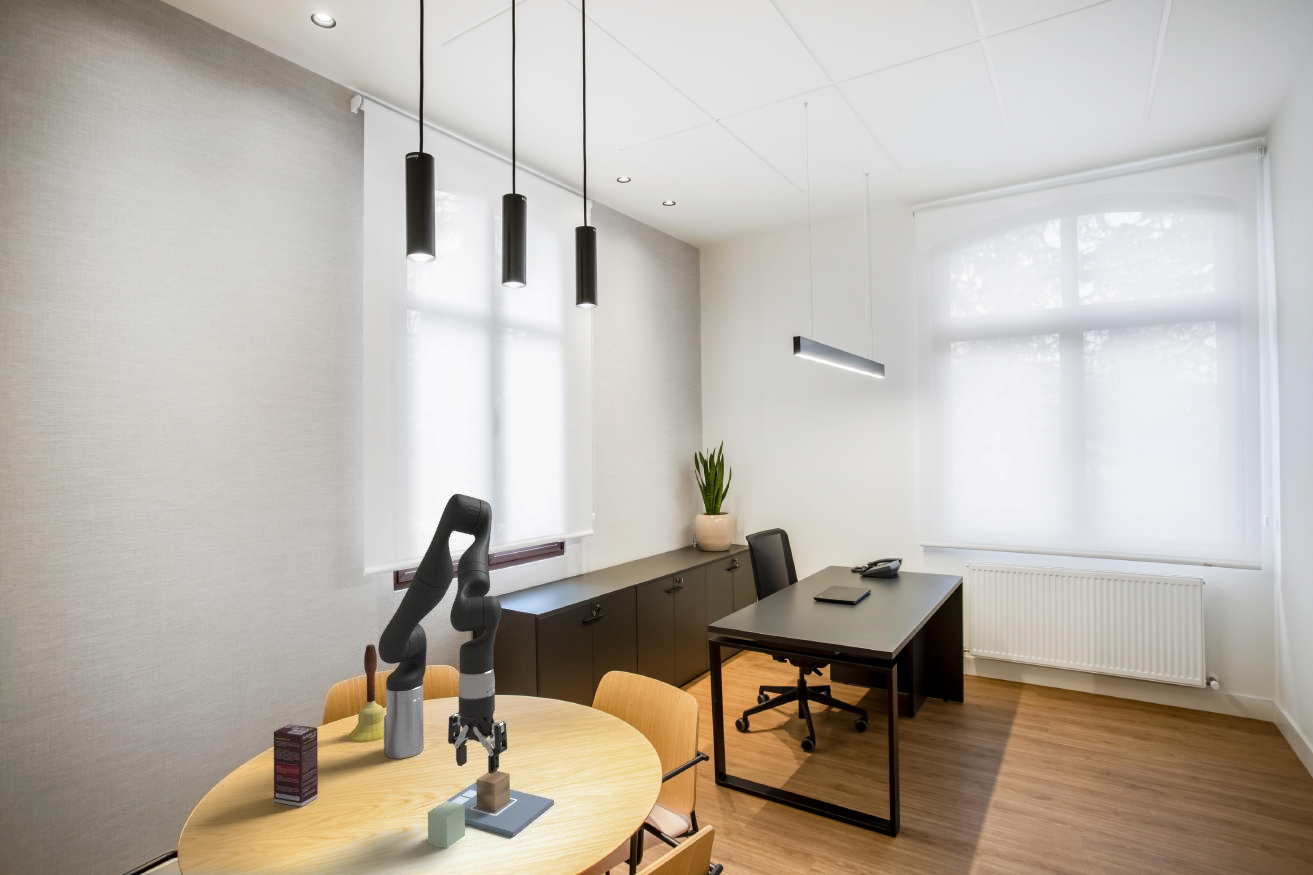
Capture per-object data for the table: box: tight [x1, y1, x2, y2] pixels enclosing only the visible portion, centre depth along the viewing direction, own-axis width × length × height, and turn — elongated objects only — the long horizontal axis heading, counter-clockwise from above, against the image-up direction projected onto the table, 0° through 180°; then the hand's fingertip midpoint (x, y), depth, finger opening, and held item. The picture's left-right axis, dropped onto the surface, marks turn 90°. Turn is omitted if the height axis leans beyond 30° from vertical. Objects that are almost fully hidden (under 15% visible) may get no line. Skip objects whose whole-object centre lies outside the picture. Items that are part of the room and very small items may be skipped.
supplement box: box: [273, 724, 319, 808], centre depth 151 cm, size 9×5×16 cm, turn 71°
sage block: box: [427, 800, 466, 849], centre depth 133 cm, size 5×5×6 cm
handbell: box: [347, 643, 385, 744], centre depth 189 cm, size 12×12×25 cm
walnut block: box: [475, 770, 511, 812], centre depth 144 cm, size 5×5×6 cm
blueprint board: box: [445, 781, 555, 838], centre depth 144 cm, size 22×14×1 cm, turn 63°
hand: (477, 768), depth 140 cm, fingers open, 8 cm apart
